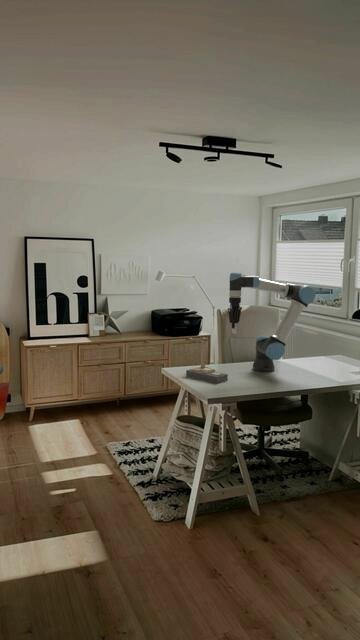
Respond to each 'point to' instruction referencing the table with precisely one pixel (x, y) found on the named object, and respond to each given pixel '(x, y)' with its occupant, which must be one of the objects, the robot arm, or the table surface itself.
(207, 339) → the headphone stand
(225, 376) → the keypad
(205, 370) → the sand key
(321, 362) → the table surface
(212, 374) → the sage key
